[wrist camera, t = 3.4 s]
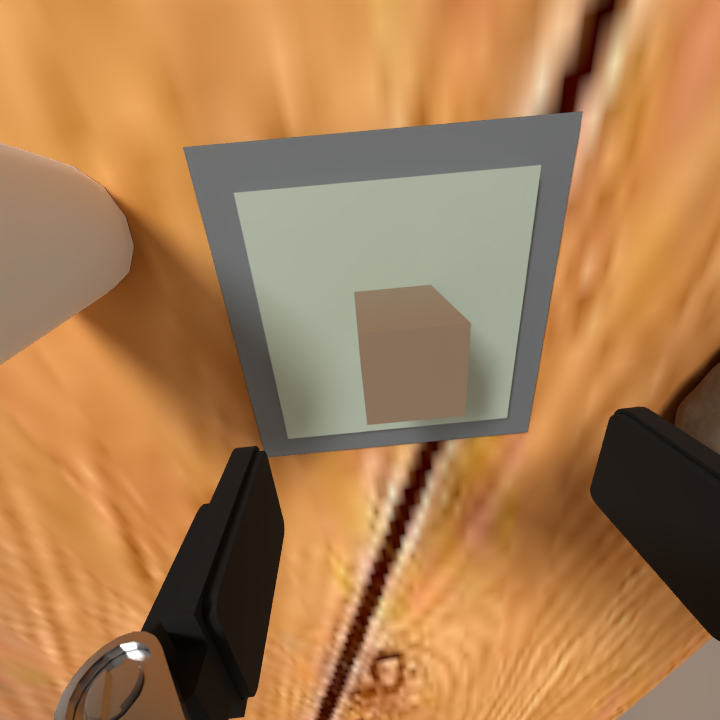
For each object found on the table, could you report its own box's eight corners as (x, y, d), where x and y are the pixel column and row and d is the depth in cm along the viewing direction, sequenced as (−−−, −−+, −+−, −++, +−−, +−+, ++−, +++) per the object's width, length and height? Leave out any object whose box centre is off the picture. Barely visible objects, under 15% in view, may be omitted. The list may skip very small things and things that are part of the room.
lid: (532, 166, 16) (652, 145, 10) (501, 410, 22) (563, 492, 16) (238, 193, 16) (172, 188, 10) (290, 430, 22) (269, 521, 16)
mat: (575, 113, 15) (582, 111, 15) (523, 427, 23) (527, 432, 23) (188, 148, 15) (183, 147, 15) (267, 452, 23) (265, 457, 23)
